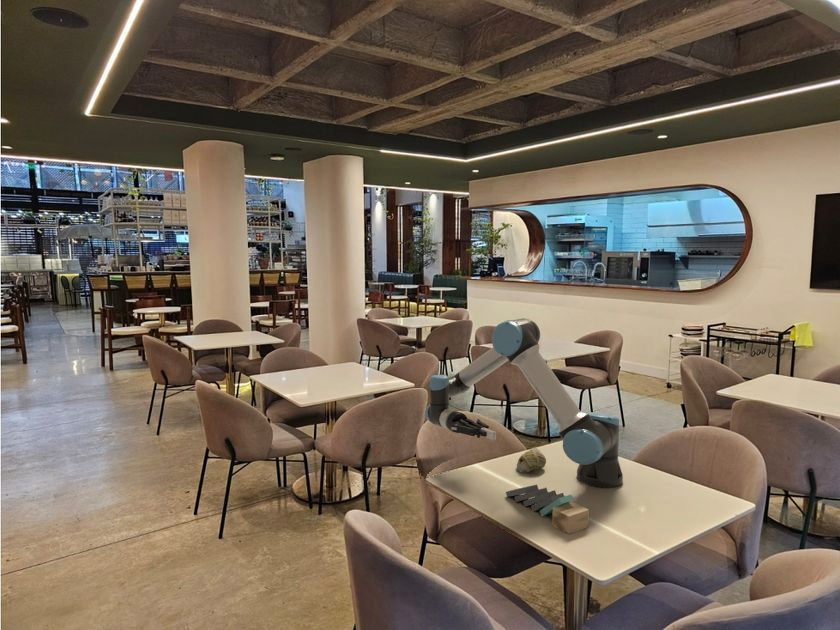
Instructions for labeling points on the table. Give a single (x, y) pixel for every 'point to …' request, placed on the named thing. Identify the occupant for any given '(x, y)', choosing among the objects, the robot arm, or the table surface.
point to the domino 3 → (539, 498)
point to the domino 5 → (556, 504)
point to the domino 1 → (522, 490)
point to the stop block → (570, 517)
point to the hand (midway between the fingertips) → (494, 436)
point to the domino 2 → (531, 494)
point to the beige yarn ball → (531, 460)
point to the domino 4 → (546, 502)
